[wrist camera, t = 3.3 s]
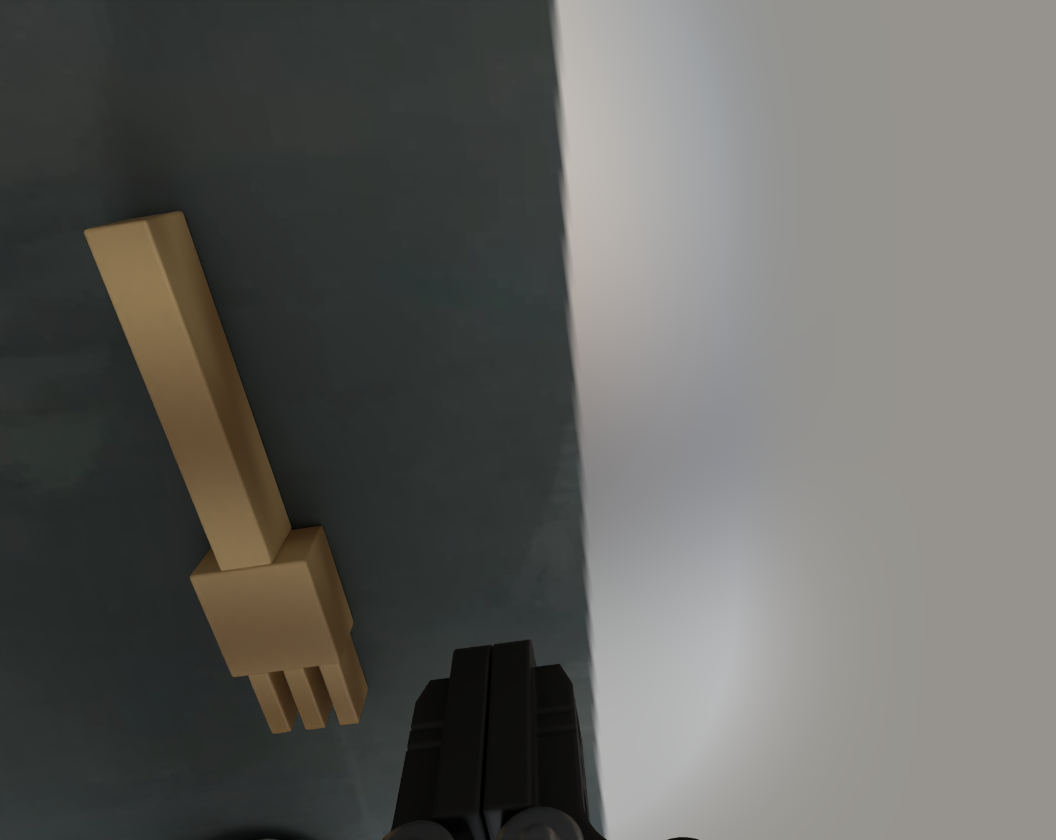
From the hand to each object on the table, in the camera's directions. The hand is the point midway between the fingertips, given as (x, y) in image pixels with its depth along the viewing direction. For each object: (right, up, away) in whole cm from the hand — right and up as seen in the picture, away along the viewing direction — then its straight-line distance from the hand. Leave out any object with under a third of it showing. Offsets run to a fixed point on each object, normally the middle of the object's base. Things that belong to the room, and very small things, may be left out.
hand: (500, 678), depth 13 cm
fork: (-8, +3, +8) cm, 12 cm away
